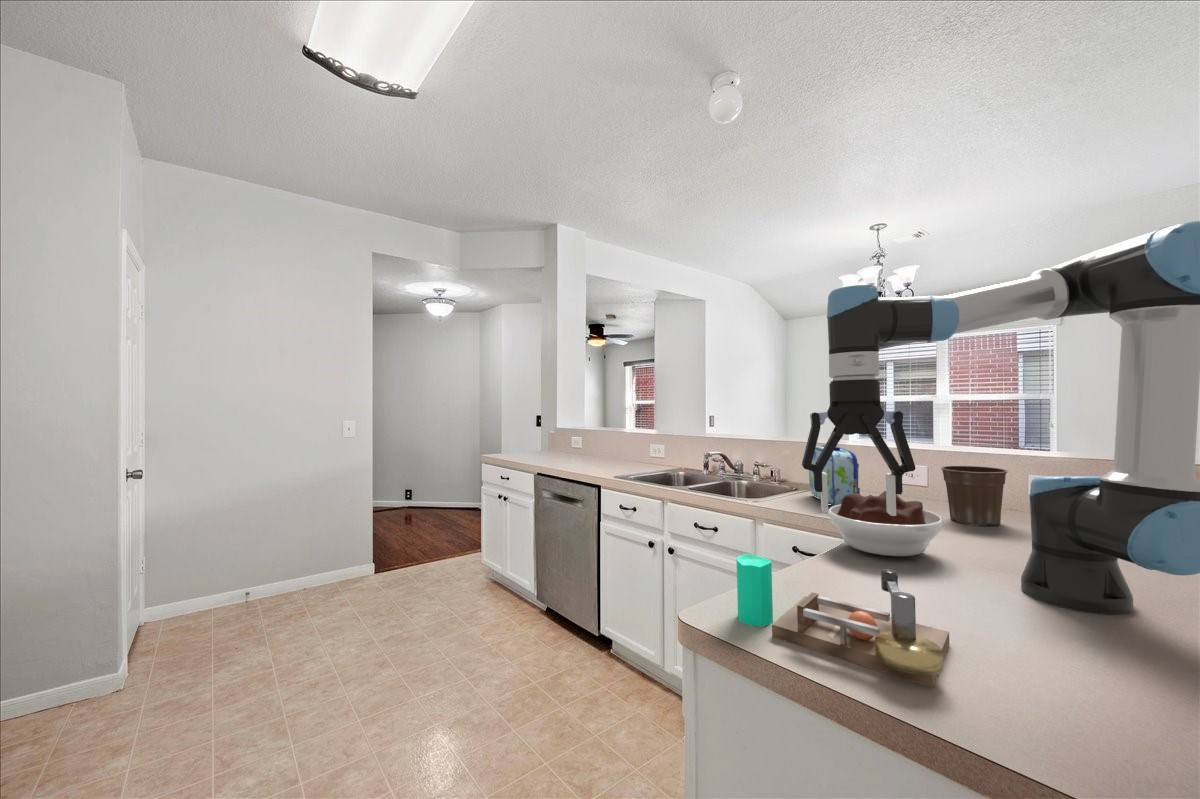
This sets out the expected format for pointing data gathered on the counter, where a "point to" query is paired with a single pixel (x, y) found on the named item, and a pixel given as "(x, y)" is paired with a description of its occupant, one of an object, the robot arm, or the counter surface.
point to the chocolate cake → (885, 525)
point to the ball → (862, 618)
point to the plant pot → (975, 494)
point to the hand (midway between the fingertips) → (857, 512)
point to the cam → (905, 635)
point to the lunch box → (838, 474)
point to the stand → (846, 633)
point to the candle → (754, 590)
